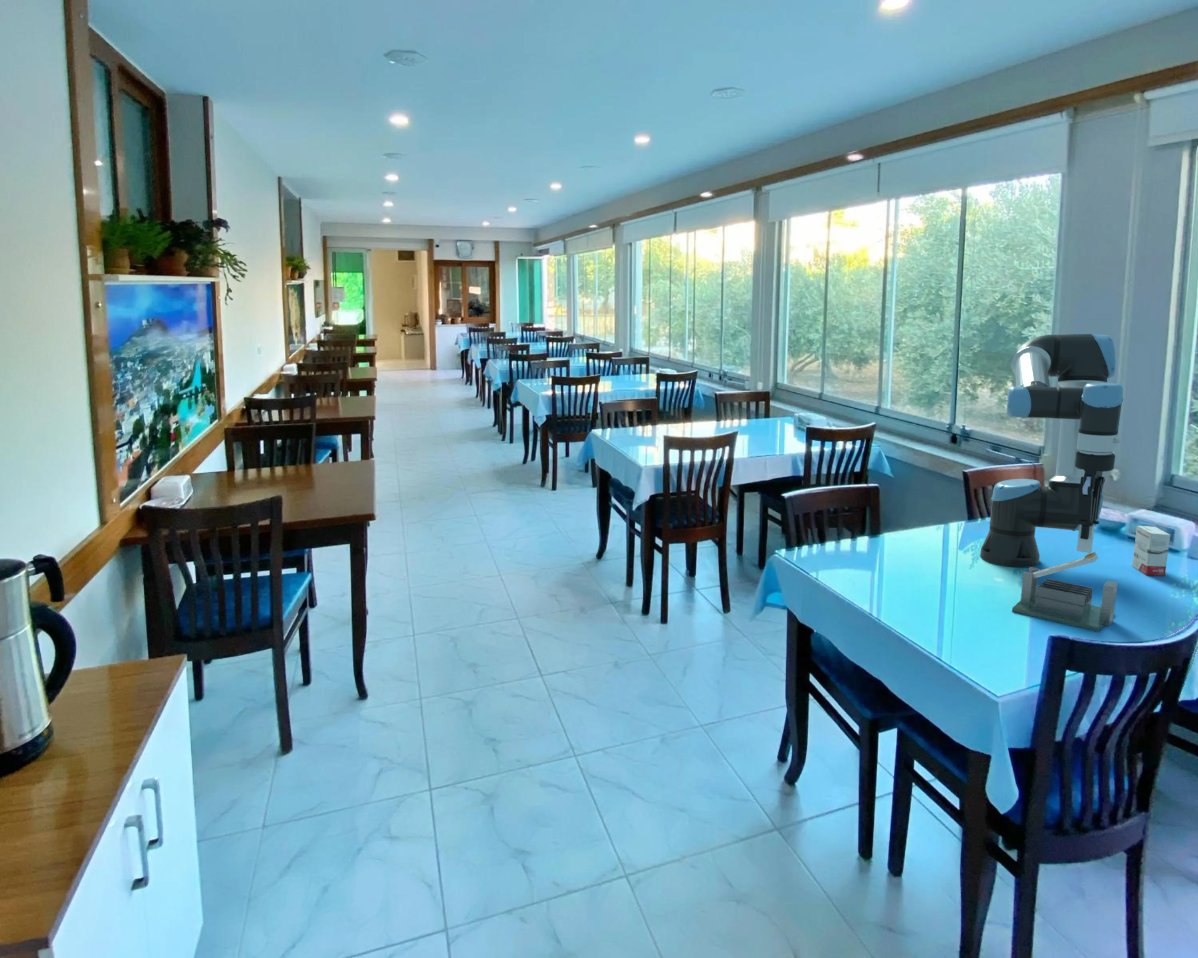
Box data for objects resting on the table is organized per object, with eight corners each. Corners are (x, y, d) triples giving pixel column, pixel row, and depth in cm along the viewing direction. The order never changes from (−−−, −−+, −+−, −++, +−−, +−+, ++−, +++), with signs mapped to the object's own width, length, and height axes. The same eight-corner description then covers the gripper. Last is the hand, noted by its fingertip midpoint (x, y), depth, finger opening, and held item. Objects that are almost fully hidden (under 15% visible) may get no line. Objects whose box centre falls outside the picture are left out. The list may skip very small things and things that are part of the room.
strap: (1027, 580, 187) (1024, 574, 187) (1031, 577, 189) (1028, 570, 190) (1095, 562, 176) (1091, 555, 176) (1098, 558, 178) (1095, 551, 179)
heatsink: (1012, 611, 186) (1015, 574, 184) (1029, 595, 195) (1033, 560, 193) (1103, 632, 173) (1108, 593, 170) (1117, 614, 182) (1122, 576, 180)
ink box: (1166, 576, 206) (1172, 534, 204) (1145, 575, 207) (1151, 533, 205) (1150, 566, 215) (1156, 525, 212) (1130, 565, 216) (1136, 525, 213)
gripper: (1108, 458, 166) (1095, 561, 172) (1121, 449, 176) (1109, 547, 181) (1069, 454, 172) (1058, 554, 177) (1084, 446, 181) (1073, 541, 186)
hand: (1084, 551), depth 179 cm, fingers closed
